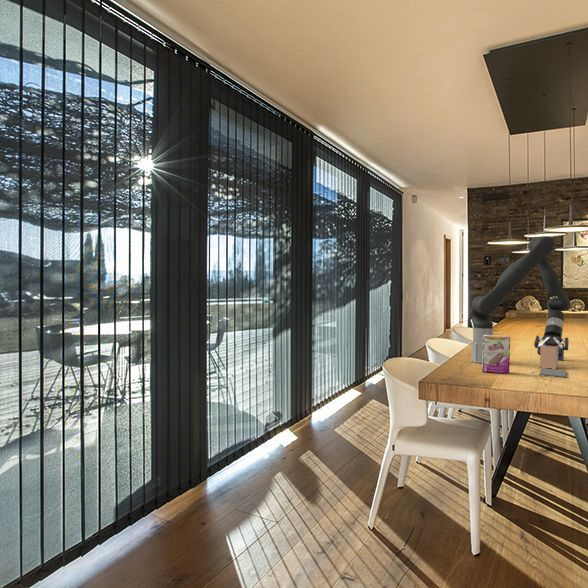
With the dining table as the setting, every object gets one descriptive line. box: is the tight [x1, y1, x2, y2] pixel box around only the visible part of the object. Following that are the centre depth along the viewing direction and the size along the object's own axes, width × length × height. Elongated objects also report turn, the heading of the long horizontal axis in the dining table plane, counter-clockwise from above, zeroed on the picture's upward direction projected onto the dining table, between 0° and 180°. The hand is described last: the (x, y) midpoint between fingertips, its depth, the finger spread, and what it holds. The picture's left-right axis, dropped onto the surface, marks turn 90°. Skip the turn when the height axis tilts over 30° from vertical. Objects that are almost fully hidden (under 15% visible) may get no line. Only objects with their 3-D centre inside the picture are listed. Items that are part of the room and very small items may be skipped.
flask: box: [547, 342, 565, 362], centre depth 249 cm, size 9×3×11 cm, turn 50°
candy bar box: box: [481, 334, 511, 375], centre depth 212 cm, size 11×5×16 cm, turn 71°
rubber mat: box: [538, 368, 567, 379], centre depth 210 cm, size 16×10×1 cm, turn 150°
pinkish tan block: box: [539, 345, 559, 370], centre depth 225 cm, size 6×6×10 cm
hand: (549, 355), depth 226 cm, fingers open, 8 cm apart
